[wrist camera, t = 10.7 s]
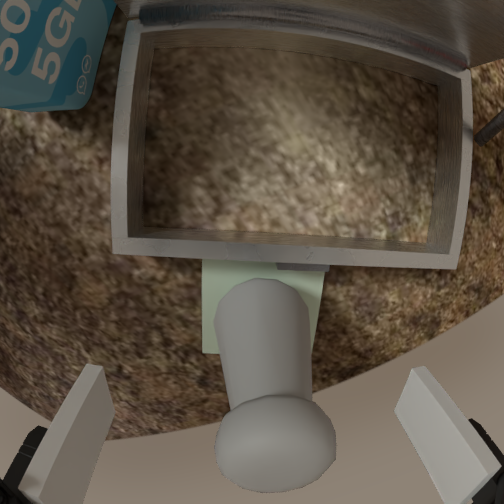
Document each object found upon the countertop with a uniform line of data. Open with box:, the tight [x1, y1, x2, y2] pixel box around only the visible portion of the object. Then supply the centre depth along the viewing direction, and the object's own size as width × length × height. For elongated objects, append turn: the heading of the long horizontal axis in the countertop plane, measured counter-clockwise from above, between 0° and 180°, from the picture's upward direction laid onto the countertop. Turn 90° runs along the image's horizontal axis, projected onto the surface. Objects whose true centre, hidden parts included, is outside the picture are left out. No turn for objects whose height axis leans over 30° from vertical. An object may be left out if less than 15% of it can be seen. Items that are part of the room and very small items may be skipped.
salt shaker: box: [213, 278, 336, 493], centre depth 14 cm, size 6×6×13 cm
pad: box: [202, 259, 325, 354], centre depth 21 cm, size 8×8×1 cm
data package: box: [0, 0, 117, 112], centre depth 9 cm, size 12×4×12 cm, turn 171°
